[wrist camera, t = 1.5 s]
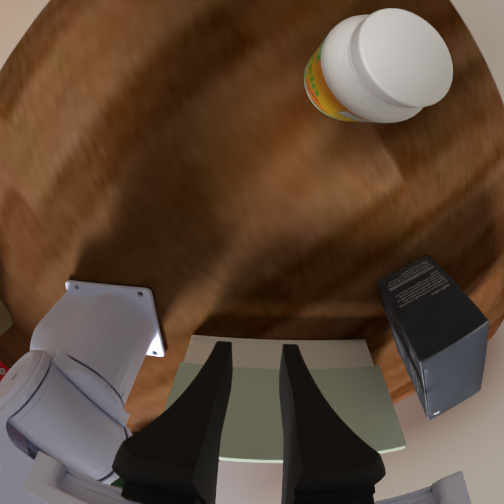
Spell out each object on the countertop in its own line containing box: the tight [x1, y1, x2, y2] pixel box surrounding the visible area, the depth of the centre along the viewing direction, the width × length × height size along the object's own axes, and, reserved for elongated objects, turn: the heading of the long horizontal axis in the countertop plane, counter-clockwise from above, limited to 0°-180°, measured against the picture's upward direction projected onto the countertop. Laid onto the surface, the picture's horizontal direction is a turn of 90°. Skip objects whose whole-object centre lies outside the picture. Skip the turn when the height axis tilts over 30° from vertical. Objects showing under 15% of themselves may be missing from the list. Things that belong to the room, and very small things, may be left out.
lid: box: [164, 362, 406, 463], centre depth 17 cm, size 16×8×1 cm
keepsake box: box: [184, 335, 374, 369], centre depth 25 cm, size 16×8×4 cm, turn 89°
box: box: [376, 255, 489, 420], centre depth 18 cm, size 9×6×10 cm, turn 30°
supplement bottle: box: [304, 8, 453, 123], centre depth 11 cm, size 5×5×10 cm
